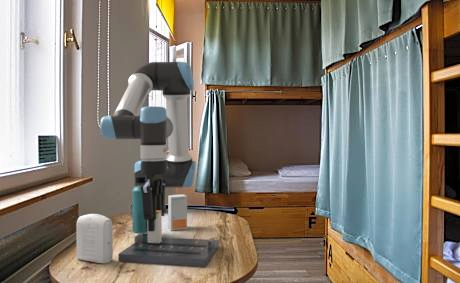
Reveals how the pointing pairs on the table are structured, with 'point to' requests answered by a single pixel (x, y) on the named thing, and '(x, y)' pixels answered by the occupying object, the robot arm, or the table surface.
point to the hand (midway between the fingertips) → (154, 240)
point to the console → (171, 251)
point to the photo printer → (94, 238)
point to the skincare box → (177, 212)
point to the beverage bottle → (138, 208)
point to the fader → (158, 217)
